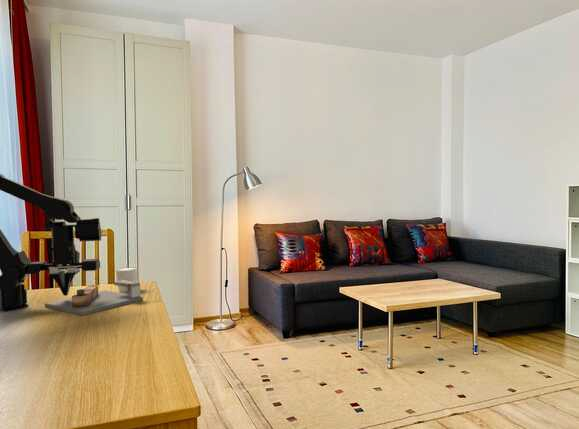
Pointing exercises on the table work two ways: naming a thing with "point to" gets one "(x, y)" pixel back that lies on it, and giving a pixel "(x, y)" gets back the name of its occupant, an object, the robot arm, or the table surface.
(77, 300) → the link
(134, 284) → the keeper
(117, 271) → the white pedestal piece
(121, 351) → the table surface
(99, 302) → the board
